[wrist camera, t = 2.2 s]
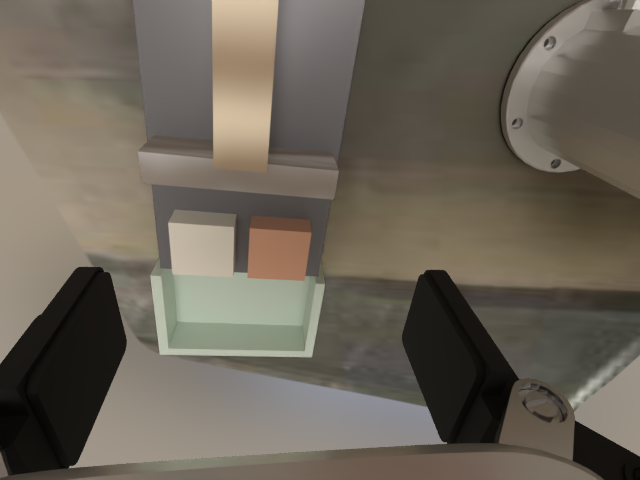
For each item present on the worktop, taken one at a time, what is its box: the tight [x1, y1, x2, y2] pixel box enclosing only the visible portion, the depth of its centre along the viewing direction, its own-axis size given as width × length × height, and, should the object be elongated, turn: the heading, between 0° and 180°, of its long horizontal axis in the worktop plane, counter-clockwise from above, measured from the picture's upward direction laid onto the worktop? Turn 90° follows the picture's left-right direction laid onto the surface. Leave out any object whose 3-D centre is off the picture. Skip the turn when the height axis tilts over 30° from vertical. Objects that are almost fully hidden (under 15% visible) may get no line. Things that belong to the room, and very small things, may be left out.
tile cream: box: [168, 210, 237, 277], centre depth 28 cm, size 4×4×2 cm
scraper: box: [138, 0, 339, 200], centre depth 21 cm, size 14×12×5 cm
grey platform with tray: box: [133, 0, 365, 357], centre depth 27 cm, size 36×14×4 cm, turn 172°
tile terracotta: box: [247, 215, 312, 281], centre depth 29 cm, size 4×4×2 cm
